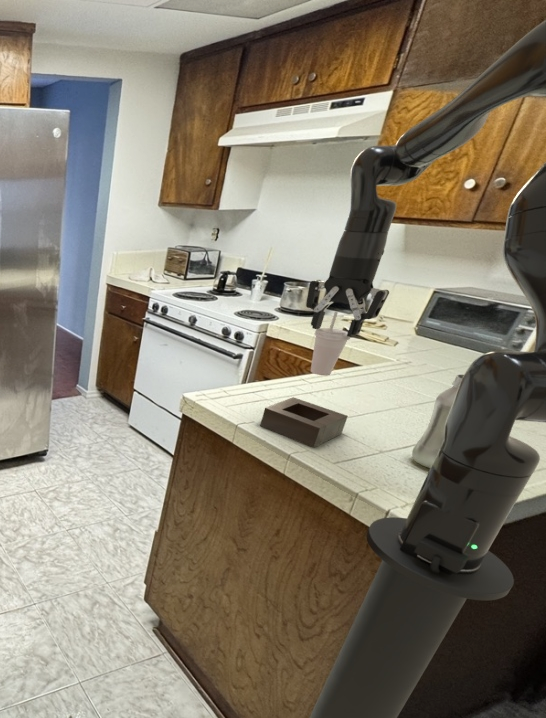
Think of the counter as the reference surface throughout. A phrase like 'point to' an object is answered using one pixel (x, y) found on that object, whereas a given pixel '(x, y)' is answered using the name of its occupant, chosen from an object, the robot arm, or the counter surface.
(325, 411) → the holder
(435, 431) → the plastic bottle
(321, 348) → the smoothie
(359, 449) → the counter surface
